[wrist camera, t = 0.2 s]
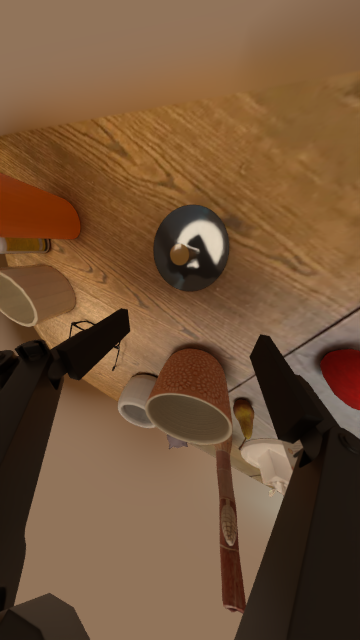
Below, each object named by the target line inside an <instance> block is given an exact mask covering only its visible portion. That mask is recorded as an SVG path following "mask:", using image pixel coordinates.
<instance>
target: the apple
mask: <svg viewBox="0 0 360 640" xmlns="http://www.w3.org/2000/svg"><path fill="white" fill-rule="evenodd" d="M320 367H321V371H322V374H323V377H324V378H325V380H326V382H327V383H328V385H329V386H330V388H331V390H332V391H333V393H334V394H335V395H336V396H337V397H338V398H339V399H341V400H342V401H343V402H344V403H345V404H347V405H349V406H350V407H352V408H354V409H357V410H360V351H359V350H354V349H344V350H336V351H332V352H330V353H328V354H326V356H325V357H324V358H323V359H322V361H321V364H320Z"/></svg>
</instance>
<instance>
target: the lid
mask: <svg viewBox="0 0 360 640" xmlns="http://www.w3.org/2000/svg"><path fill="white" fill-rule="evenodd" d="M153 250H154V260H155V263H156V266H157V269H158V271H159V273H160V274H161V276H162V277H163V278H164V280H165V281H166V282H167V283H168V284H170V285H171V286H173V287H175V288H177V289H179V290H183V291H198V290H201V289H203V288H206V287H207V286H209V285H211V284H212V283H213V282H214V281H215V280H216V279H217V278H218V277H219V276H220V274H221V273H222V271H223V270H224V268H225V265H226V263H227V260H228V255H229V238H228V233H227V230H226V228H225V226H224V224H223V222H222V221H221V219H220V218H219V217H218V216H217V215H216V214H215V213H214V212H213V211H212V210H210V209H208V208H206V207H203V206H200V205H186V206H182V207H179V208H177V209H175V210H174V211H172V212H171V213H170V214H169V215H168V216H167V217H166V218H165V219H164V220H163V221H162V223H161V224H160V226H159V228H158V230H157V233H156V236H155V240H154V249H153Z"/></svg>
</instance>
